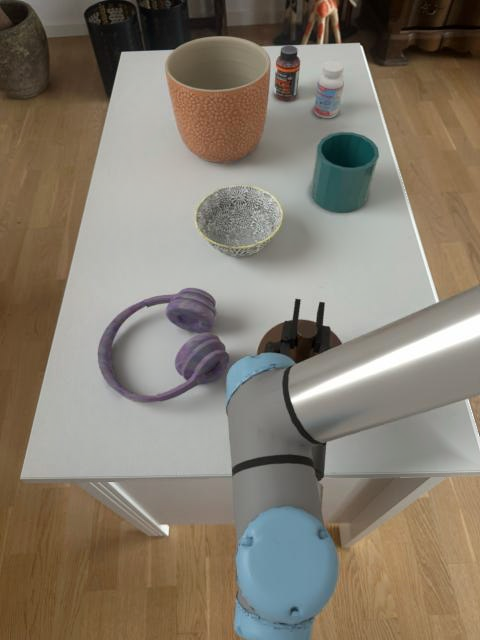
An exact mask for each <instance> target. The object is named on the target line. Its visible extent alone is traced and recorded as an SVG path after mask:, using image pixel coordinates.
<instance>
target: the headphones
mask: <svg viewBox="0 0 480 640" xmlns="http://www.w3.org/2000/svg"><path fill="white" fill-rule="evenodd" d="M164 304H167V305H166V308H165V316H166V317H167V319H168V320H169V321H170V322H171V323H172V324H173V325H174V326H176V327H178V328H180V329H182V330H185V331H188V332H192V333H198V334H195V335H194V336H192V337H190V338H189V339H188V340H187V341H186V342H185V343H184V344H183V345H182V346H181V347H180V348H179V350H178V352H177V353H176V356H175V359H174V368H175V371H176V372H177V373H178V374H179V375H180V376H182V378H184V380H185V382H183V383H181V384H179V385H178V386H176V387H174V388H171V389H170V390H166V391H163V392H159V393H156V395H141V394H136V393H133V392H131V391H128V390H127V389H126V388H124V387H123V386H122V385H121V384H120V382H118V380H117V378H116V376H115V374H114V370H113V365H112V349H113V345H114V341H115V337H116V336H117V334H118V332H119V330H120V329H121V327H122V325H123V324H124V323H125V321H127V320H128V319H129V318H130V317H131V316H133V315H134V314H135V313H137V312H138V311H140V310H142V309H144V308H145V307H146V308H150V307H154V306H158V305H164ZM216 306H217V301H216V299H215V298H214V296H212V294H210V293H209V292H207V291H205V290H203V289H201V288H196V287H186V288H183V289H181V290H180V291H178V293H173V294H161V295H156V296H151V297H149V298H145V299H143V300H141V301H139V302H137V303H134V304H132V305H130V306H128V307H126V308H125V309H124V310H122V311H121V312H119V314H117V315H116V316H115V317H114V318H113V319H112V320H111V322H109V324H108V325H107V326H106V328H105V329H104V331H103V333H102V335H101V338H100V340H99V343H98V347H97V362H98V367H99V370H100V374H101V375H102V377H103V379H104V380H105V382H106V383H107V384H108V385H109V386H110V387H111V388H112V389H113V390H114V391H115V392H117V393H118V394H119V395H120V396H122V397H124V398H125V399H127V400H129V401H132V402H135V403H156V402H159V403H161V402H165V401H169V400H171V399H174V398H177V397H179V396H181V395H183V394H185V393H187V392H188V391H190V390H191V389H194V388H196V387H198V386H202V385H203V386H204V385H207V384H210V383H212V382H214V381H215V380H217V379H218V378H219V377H220V376H221V375H222V374H223V373H224V372H225V371H226V369H227V367H228V366H229V363H230V355H229V353H228V352H227V351H226V344H224V343H223V341H222V340H221V339H220V338H219V336H218V335H216V334H215V333H213V332H209V331H211V330H212V328H214V326H215V323H216V318H217V315H218V314H217V313H218V312H217V309H216Z"/></svg>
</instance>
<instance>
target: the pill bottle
mask: <svg viewBox="0 0 480 640" xmlns="http://www.w3.org/2000/svg"><path fill="white" fill-rule="evenodd" d="M344 69H345V65H344V64H343V63H342V62H341V61H339V60H327V61H325V62H324V63H323V65H322V69H321V70H322V73H320V74H319V75H318V78H317V84H316V92H315V99H314V106H313V113H314V114H315V115H316V116H318V117H319V118H322V119H332V118H334V117H335V116H337V115H338V114H339V110H340V105H341V101H342V95H343V90H344V85H345V76H344V75H343V73H344Z"/></svg>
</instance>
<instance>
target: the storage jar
mask: <svg viewBox="0 0 480 640" xmlns="http://www.w3.org/2000/svg"><path fill="white" fill-rule="evenodd" d="M379 158H380V152H379V147H378V146H377V145H376V144H375V142H374V141H373V140H372V139H370V138H369V137H367V136H365V135H363V134H361V133H360V134H359V133H357V132H351V131H338V132H334V133H330V134H328V135H326V136H324V137H322V138H321V139H320V141H319V142H318V144H317V146H316V153H315V158H314V166H313V172H312V178H311V185H310V195H311V199H312V200H313V202H314V203H315V204H316V205H317V206H318V207H320V208H321V209H324V210H326V211H328V212H333V213H340V214H341V213H342V214H343V213H350V212H354V211H356V210H358V209H360V208H361V207H362V206H363V205H364V204H365V202H366V200H367V198H368V195H369V192H370V189H371V185H372V181H373V177H374V174H375V171H376V167H377V165H378V161H379Z"/></svg>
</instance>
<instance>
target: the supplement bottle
mask: <svg viewBox="0 0 480 640" xmlns="http://www.w3.org/2000/svg"><path fill="white" fill-rule="evenodd" d="M298 52H299V51H298V48H297V47H296V46H294V45H290V44H288V45H287V44H286V45H284V46H282V47H281V48H280V53H279V54H280V55H279V56H278V57H277V58H276V60H275V72H274V87H273V95H274V97H275V98H276V99H277V100H280V101H283V102H290V101H292V100H294V99H296V97H297V95H298V89H299V82H300V81H299V80H300V71H301V59H300V58H299V56H298Z"/></svg>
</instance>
